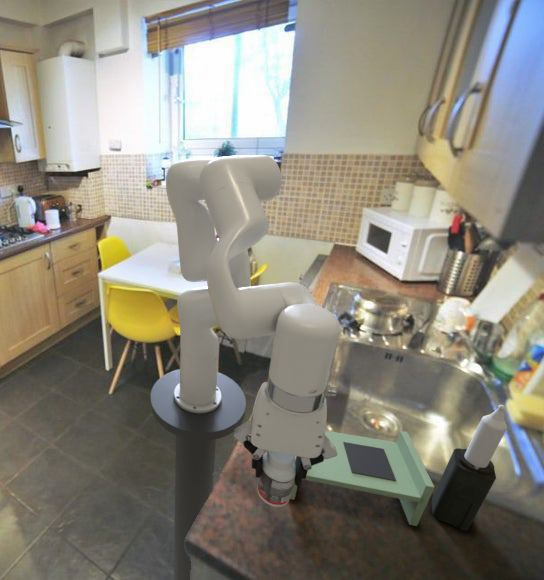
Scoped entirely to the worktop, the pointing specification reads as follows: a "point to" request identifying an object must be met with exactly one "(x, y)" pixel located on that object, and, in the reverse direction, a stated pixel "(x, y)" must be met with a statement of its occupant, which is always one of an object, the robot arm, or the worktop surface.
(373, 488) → the shelf
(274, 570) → the worktop surface
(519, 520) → the worktop surface
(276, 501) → the pill bottle
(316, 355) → the robot arm
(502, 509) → the worktop surface
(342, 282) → the worktop surface
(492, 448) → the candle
